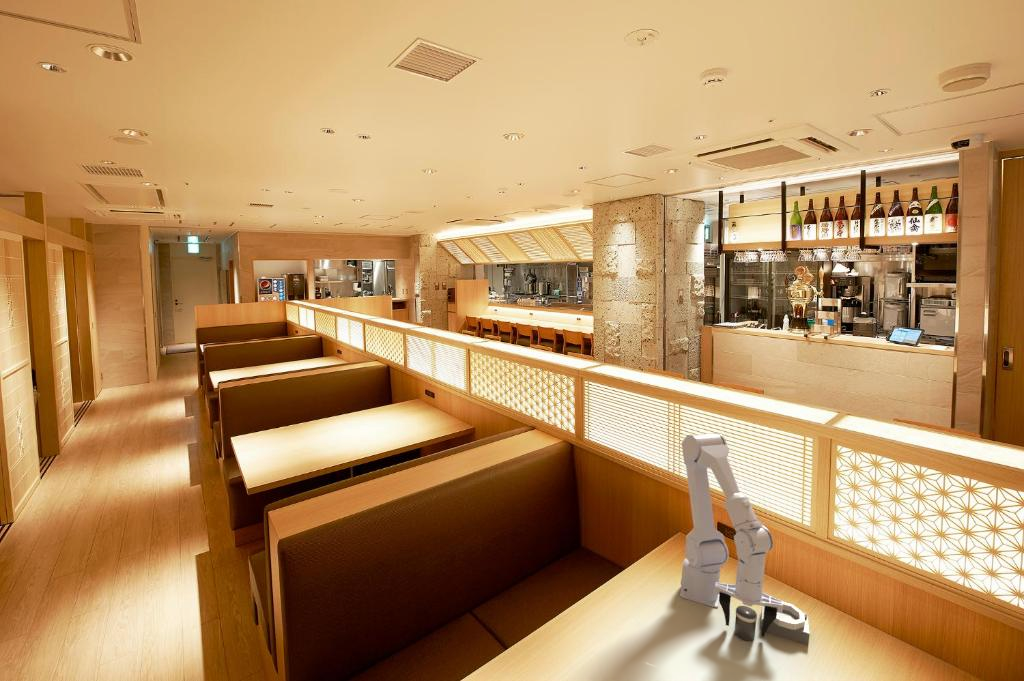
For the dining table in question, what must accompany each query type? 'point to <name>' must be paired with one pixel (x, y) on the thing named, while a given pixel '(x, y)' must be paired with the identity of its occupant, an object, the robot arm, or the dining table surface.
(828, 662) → the dining table surface
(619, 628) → the dining table surface
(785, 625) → the octagonal ring base
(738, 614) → the lens
